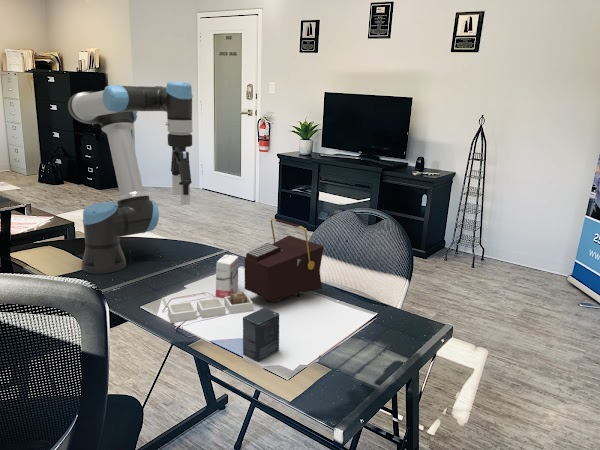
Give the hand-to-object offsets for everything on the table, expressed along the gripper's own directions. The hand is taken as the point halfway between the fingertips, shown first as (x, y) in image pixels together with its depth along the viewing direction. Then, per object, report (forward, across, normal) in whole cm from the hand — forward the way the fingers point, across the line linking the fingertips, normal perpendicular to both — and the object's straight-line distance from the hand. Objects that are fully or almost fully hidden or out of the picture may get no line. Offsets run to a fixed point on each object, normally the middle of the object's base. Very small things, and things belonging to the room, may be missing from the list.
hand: (180, 199), depth 161 cm
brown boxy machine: (+29, +22, +28) cm, 46 cm away
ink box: (+29, +13, +12) cm, 34 cm away
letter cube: (+28, +26, +12) cm, 40 cm away
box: (+28, +52, +10) cm, 60 cm away
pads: (+29, +13, +4) cm, 32 cm away
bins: (+29, +25, +3) cm, 39 cm away
